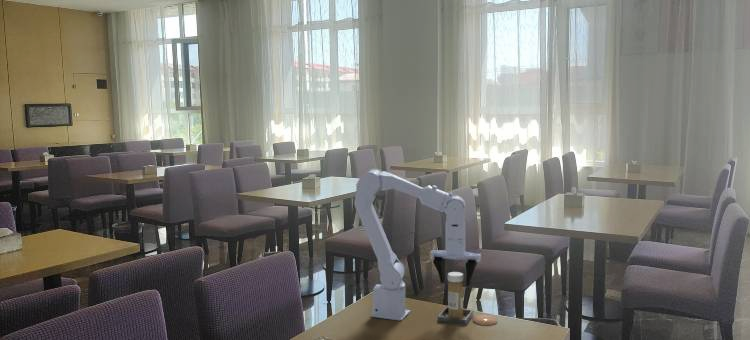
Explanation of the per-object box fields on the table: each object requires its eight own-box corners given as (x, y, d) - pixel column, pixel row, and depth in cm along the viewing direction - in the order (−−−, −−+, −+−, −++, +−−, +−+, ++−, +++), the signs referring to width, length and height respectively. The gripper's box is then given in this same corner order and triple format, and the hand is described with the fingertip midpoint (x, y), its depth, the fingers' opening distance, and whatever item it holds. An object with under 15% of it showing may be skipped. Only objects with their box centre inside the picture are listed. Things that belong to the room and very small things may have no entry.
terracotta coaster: (470, 323, 165) (470, 321, 165) (475, 314, 171) (475, 313, 171) (494, 326, 162) (494, 324, 162) (499, 318, 168) (499, 316, 168)
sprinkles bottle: (466, 318, 168) (466, 274, 167) (454, 322, 166) (454, 276, 164) (456, 314, 172) (456, 270, 170) (444, 317, 169) (444, 273, 168)
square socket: (437, 321, 167) (437, 316, 166) (445, 311, 174) (445, 306, 174) (466, 325, 163) (466, 320, 163) (473, 314, 171) (473, 310, 171)
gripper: (427, 239, 165) (427, 285, 167) (477, 243, 160) (476, 290, 161) (434, 233, 172) (434, 278, 173) (482, 237, 166) (482, 283, 168)
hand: (455, 283), depth 168 cm, fingers open, 7 cm apart
